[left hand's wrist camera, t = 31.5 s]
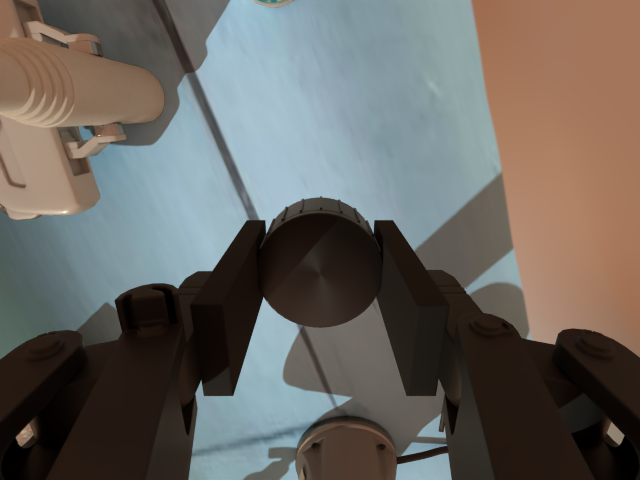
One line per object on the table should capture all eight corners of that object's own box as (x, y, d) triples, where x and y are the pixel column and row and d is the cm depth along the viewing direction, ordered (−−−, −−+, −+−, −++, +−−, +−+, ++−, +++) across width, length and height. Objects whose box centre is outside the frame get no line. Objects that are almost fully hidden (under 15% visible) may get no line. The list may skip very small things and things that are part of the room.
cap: (340, 314, 15) (344, 346, 13) (246, 270, 15) (234, 297, 12) (396, 228, 14) (409, 249, 12) (295, 175, 13) (290, 187, 11)
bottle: (105, 105, 35) (-113, 95, 17) (122, 55, 34) (-98, -11, 16) (153, 132, 36) (-6, 150, 18) (173, 85, 34) (18, 55, 17)
